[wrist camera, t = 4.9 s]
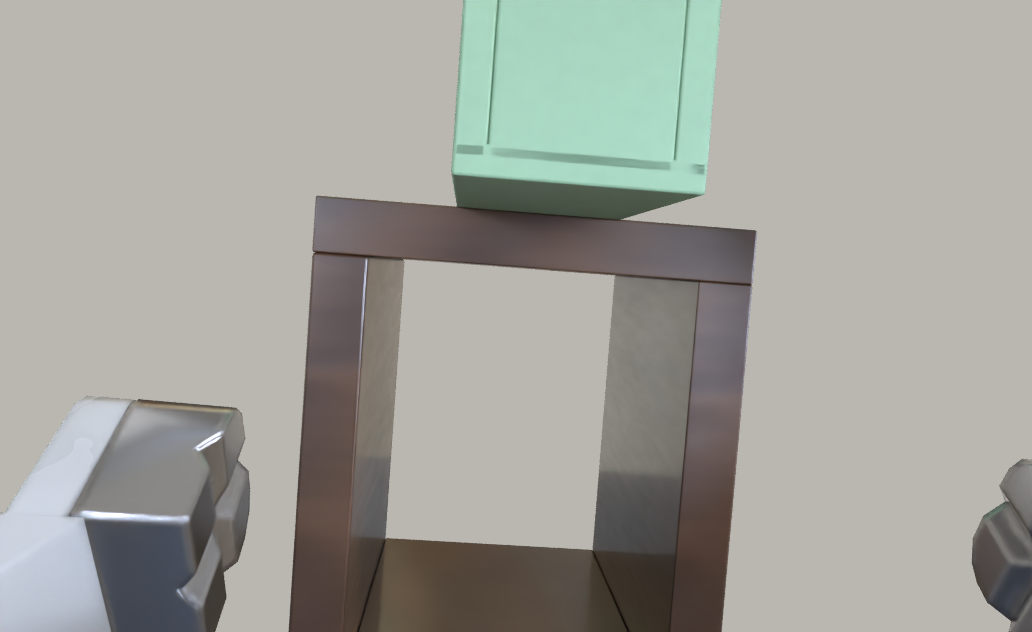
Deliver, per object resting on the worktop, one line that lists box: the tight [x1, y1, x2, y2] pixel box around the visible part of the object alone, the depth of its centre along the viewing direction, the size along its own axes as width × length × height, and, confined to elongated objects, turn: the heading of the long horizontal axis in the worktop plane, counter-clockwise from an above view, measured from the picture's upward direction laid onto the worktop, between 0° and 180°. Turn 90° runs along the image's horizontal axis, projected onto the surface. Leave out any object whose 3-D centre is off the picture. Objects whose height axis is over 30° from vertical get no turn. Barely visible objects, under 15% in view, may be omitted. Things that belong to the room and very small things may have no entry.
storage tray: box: [451, 0, 722, 220], centre depth 27 cm, size 4×22×4 cm, turn 3°
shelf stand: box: [289, 196, 757, 632], centre depth 32 cm, size 12×14×26 cm
